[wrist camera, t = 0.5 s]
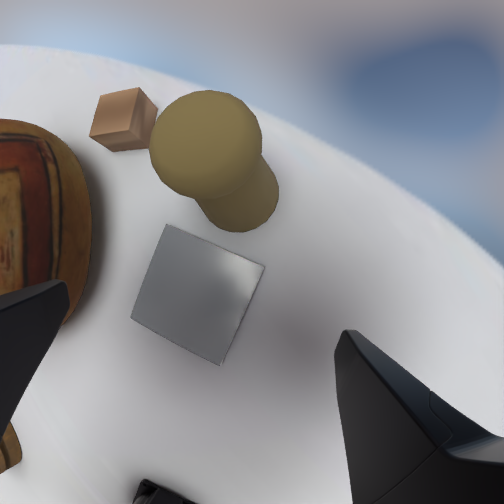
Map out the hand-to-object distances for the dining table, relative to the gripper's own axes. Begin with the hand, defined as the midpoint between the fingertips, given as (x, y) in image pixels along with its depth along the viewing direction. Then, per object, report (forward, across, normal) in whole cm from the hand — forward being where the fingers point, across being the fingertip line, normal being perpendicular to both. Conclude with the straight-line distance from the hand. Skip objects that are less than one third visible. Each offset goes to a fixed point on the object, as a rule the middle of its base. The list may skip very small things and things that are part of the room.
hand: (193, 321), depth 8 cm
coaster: (+12, +2, +6) cm, 14 cm away
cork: (+15, 0, -1) cm, 15 cm away
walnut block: (+18, +10, -5) cm, 22 cm away
